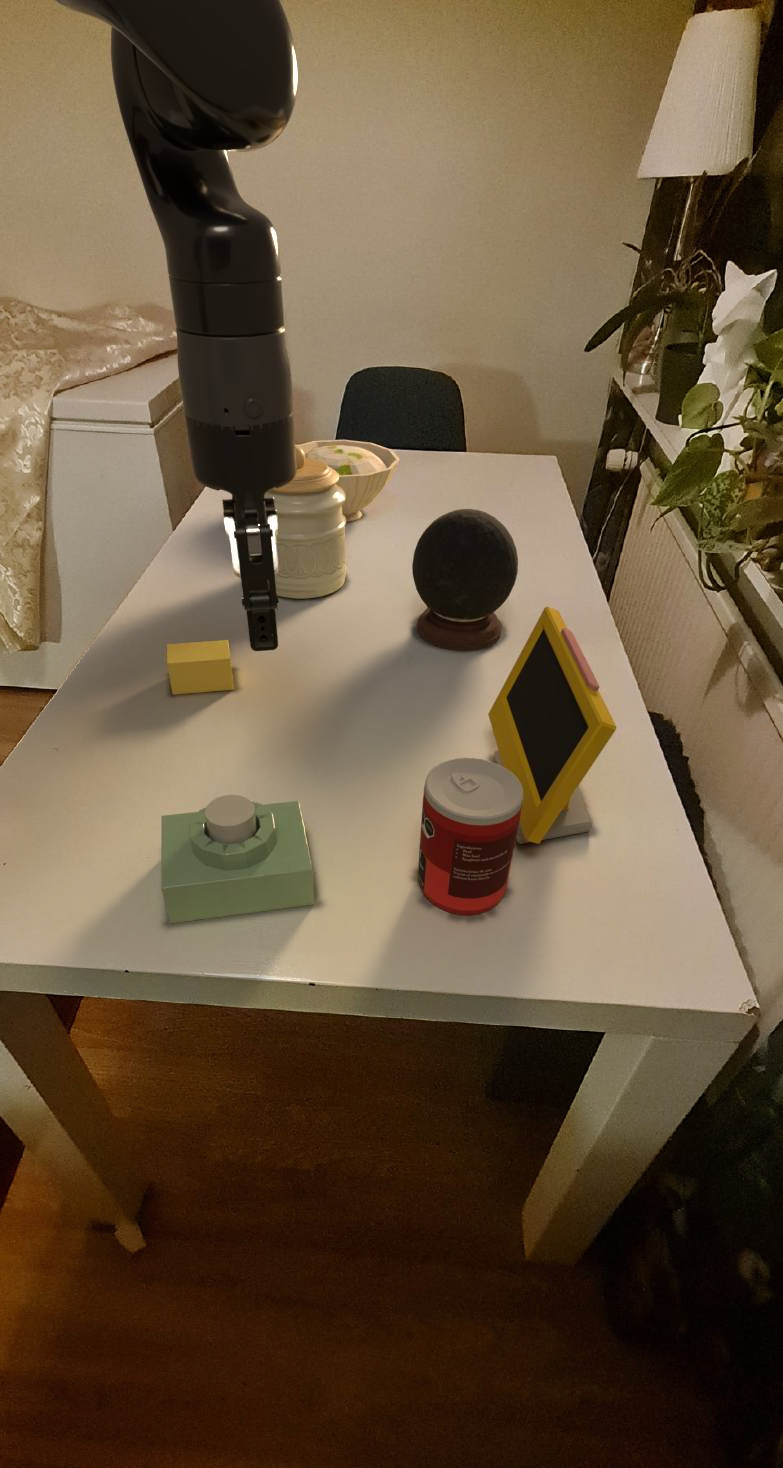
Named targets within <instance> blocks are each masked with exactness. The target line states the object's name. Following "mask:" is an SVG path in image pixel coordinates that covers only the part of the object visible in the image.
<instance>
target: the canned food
mask: <svg viewBox="0 0 783 1468" xmlns="http://www.w3.org/2000/svg"><path fill="white" fill-rule="evenodd" d="M522 804H523V789H522V785H521V783H520V781H519V780H518V779H517V778H516V776H515V775H514V774H513V773H511V772H510V771H509V770H507V769H506V768H504V767H502V766H501V765H498V764H496V763H495V762H493V761H489V760H486V759H483V758H482V759H481V758H476V757H459V758H458V757H457V758H452V759H448V760H445V761H443V762H439V763H438V764H437V765H435V766H433V767H432V769H430V771H428V773H427V775H426V777H425V782H424V786H423V797H422V807H421V821H420V835H419V836H420V837H419V852H418V867H417V879H418V882H419V885H420V888H421V891H422V893H423V894H424V897H426V899H427V900H428V901H429V902H430V903H432V904H433V905H434V906H435V907H437V908H438V909H440V910H443V911H445V912H448V913H451V914H455V915H461V916H471V915H479V914H483V913H486V912H488V911H490V910H492V909H493V908H494V907H496V906H497V905H498V904H499V902H500V901H501V900H502V898H503V897H504V895H505V892H506V890H507V887H508V882H509V876H510V871H511V867H512V861H513V856H514V851H515V845H516V842H517V839H516V836H517V831H518V826H519V821H520V816H521V809H522Z"/></svg>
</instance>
